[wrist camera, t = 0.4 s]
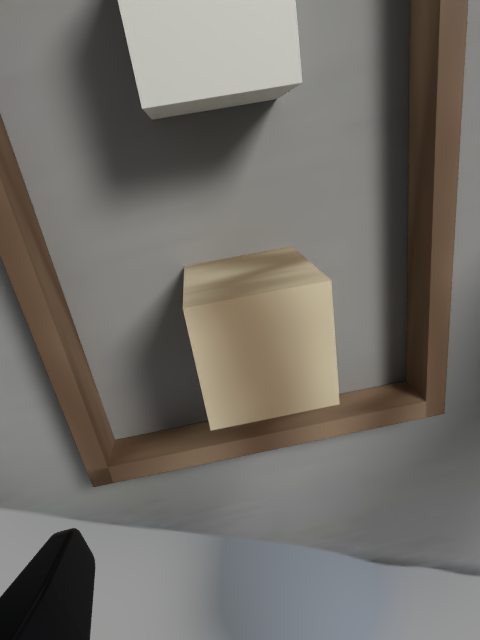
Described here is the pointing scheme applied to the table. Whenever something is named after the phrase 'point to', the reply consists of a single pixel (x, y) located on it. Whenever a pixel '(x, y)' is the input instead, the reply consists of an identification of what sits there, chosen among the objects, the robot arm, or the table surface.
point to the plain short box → (211, 52)
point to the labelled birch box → (261, 336)
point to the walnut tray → (355, 407)
